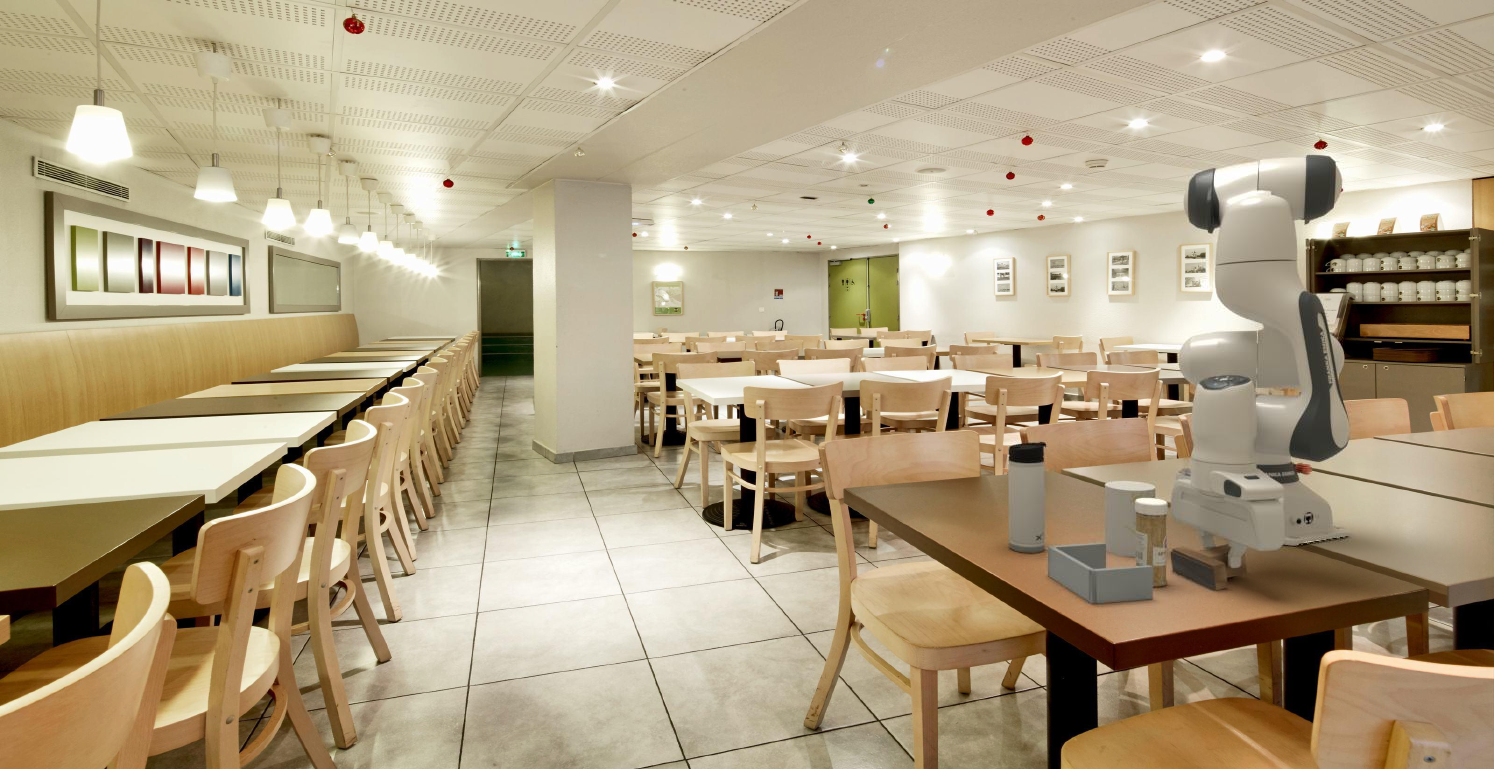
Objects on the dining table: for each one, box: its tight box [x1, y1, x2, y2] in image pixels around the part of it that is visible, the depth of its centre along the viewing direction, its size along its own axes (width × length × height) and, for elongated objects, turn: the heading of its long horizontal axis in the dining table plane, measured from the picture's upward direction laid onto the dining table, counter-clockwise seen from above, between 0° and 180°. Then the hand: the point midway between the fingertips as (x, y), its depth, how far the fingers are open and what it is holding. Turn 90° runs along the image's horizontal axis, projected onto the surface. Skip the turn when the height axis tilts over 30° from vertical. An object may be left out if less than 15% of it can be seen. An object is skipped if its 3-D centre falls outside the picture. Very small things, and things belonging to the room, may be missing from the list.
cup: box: [1104, 480, 1156, 558], centre depth 134 cm, size 8×8×12 cm
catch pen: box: [1047, 542, 1154, 605], centre depth 117 cm, size 10×13×5 cm
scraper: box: [1169, 543, 1248, 591], centre depth 119 cm, size 8×9×4 cm
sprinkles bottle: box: [1135, 497, 1169, 588], centre depth 118 cm, size 5×5×13 cm
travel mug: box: [1007, 441, 1047, 554], centre depth 137 cm, size 6×7×20 cm
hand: (1221, 561), depth 119 cm, fingers closed on scraper, 3 cm apart
